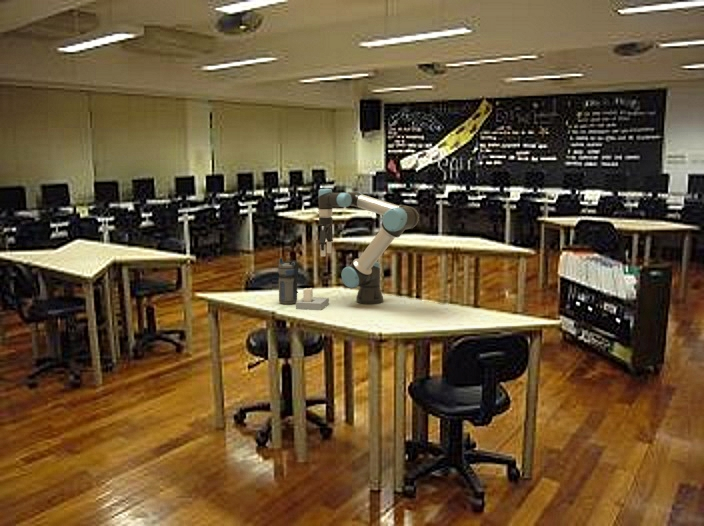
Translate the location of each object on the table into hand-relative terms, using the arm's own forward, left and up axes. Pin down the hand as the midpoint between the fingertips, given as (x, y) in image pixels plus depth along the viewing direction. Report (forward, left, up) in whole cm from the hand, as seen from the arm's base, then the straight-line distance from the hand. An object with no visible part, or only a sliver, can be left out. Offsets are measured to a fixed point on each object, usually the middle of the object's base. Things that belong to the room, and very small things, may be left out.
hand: (326, 254), depth 349 cm
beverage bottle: (+19, +9, -27) cm, 34 cm away
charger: (+6, +17, -27) cm, 32 cm away
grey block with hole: (+4, +15, -27) cm, 31 cm away
